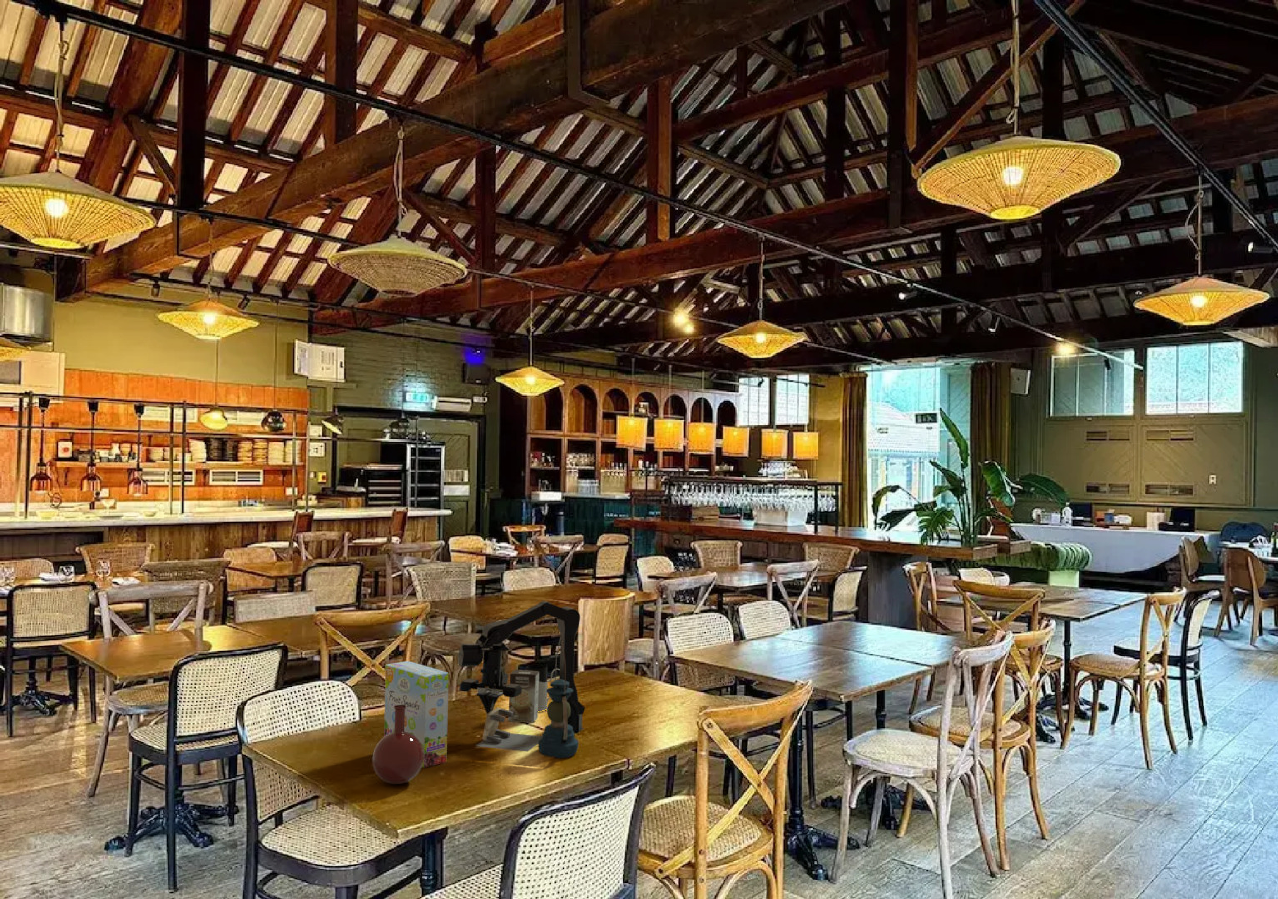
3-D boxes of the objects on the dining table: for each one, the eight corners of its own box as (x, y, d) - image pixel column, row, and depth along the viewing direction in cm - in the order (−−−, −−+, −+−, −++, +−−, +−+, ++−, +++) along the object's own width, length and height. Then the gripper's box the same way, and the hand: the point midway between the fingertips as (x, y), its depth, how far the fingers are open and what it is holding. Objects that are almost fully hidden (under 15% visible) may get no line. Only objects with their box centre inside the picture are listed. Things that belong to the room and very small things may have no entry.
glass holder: (520, 707, 312) (521, 665, 312) (557, 704, 318) (558, 662, 318) (527, 713, 304) (528, 670, 304) (566, 710, 310) (567, 667, 310)
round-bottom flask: (416, 772, 240) (418, 698, 240) (429, 787, 228) (431, 709, 229) (367, 779, 233) (369, 703, 234) (377, 794, 222) (380, 715, 223)
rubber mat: (547, 738, 274) (547, 736, 274) (527, 753, 259) (527, 751, 259) (496, 733, 278) (497, 731, 278) (474, 747, 263) (475, 746, 263)
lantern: (532, 748, 264) (535, 631, 265) (570, 744, 268) (573, 629, 270) (544, 762, 251) (547, 639, 252) (584, 758, 255) (586, 637, 256)
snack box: (380, 752, 257) (383, 663, 258) (406, 746, 263) (409, 660, 264) (422, 769, 242) (425, 675, 243) (448, 762, 249) (451, 671, 250)
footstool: (509, 737, 273) (513, 711, 273) (498, 744, 265) (503, 718, 265) (493, 732, 274) (497, 707, 274) (482, 739, 267) (486, 713, 267)
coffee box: (507, 721, 293) (508, 673, 293) (512, 716, 299) (513, 669, 300) (534, 723, 292) (535, 674, 292) (538, 718, 298) (539, 670, 299)
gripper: (529, 663, 277) (527, 713, 276) (476, 657, 282) (473, 706, 281) (515, 670, 266) (512, 722, 266) (460, 664, 271) (457, 714, 270)
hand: (489, 715), depth 271 cm, fingers closed
